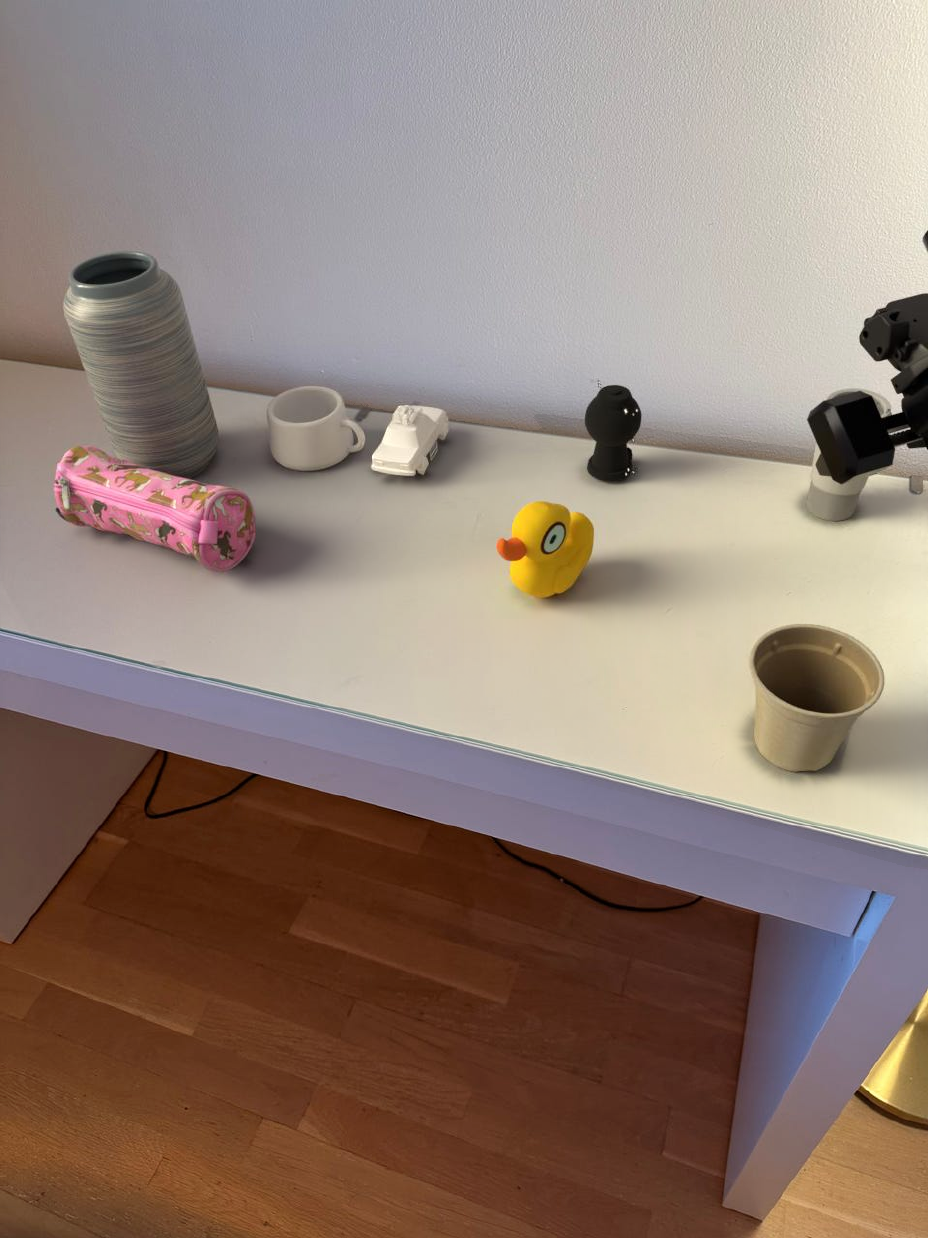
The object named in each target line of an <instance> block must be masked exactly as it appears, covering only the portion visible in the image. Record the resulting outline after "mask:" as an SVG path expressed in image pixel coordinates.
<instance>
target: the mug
mask: <svg viewBox="0 0 928 1238" xmlns="http://www.w3.org/2000/svg"><path fill="white" fill-rule="evenodd" d="M266 419H267V420H266V423H267V430H268V442H269V449H270V453H271V456H272V458H273V459H274V460H275V462H277V463H278V464H280V465H281V466H283V467H284V468H286V469H290V470H293V471H299V472H300V471H301V472H315V471H319V470H324V469H328V468H330V467H333V466H336V465H338V464H339V463H340V462H342V461H344V460H345V458H347V457H348V455H349V454H350V453H357V452H360V451H361V450H362V449H363V448H364V447H365V443H366V435H365V432H364V430H363V428H362V427H361V426H360V425H359V424H358V423H357V422H355V421H353V420H351V419H349V416H348V412H347V409H346V406H345V401H344V399H343V397H342V395H341V394H340V393H339V392H338V391H336V390H335V389H332V388H329V387H325V386H319V385H304V386H297V387H294V388H291V389H288V390H285V391H283V392H281V393H279V394H277V395H276V396H275V397H273V398H272V399H271V401H270V402H269V403H267V407H266ZM353 431H354V432H353ZM354 433H355V434H356V436H357V443H356V444H354V442H355V438H354V437H355V436H354Z"/></svg>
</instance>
